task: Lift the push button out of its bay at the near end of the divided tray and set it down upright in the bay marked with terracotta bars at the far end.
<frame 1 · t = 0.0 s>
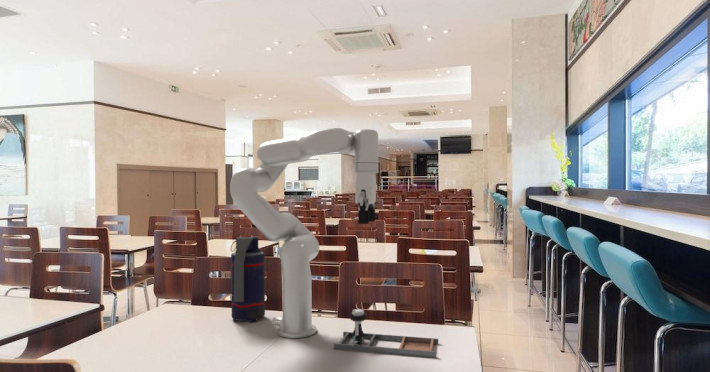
hand: (367, 222, 139), 37 cm above the table, tool pointing down, fingers open, 9 cm apart
divided tray: (386, 346, 131), on the table
grenade: (247, 320, 159), on the table
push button: (357, 344, 133), on the table
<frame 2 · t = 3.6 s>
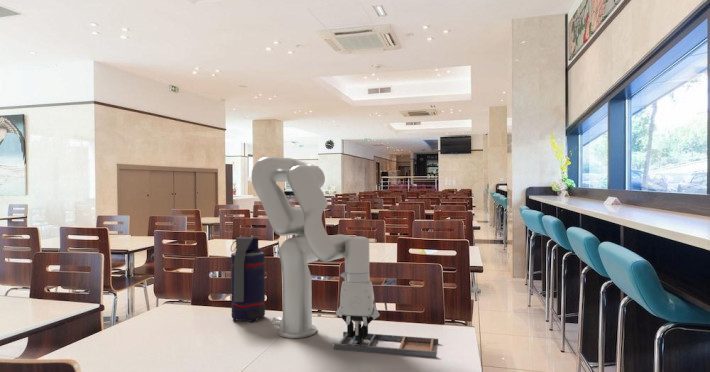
hand: (357, 336, 133), 2 cm above the table, tool pointing down, fingers closed on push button, 3 cm apart
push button: (357, 344, 133), on the table, touching gripper
everything else where it was.
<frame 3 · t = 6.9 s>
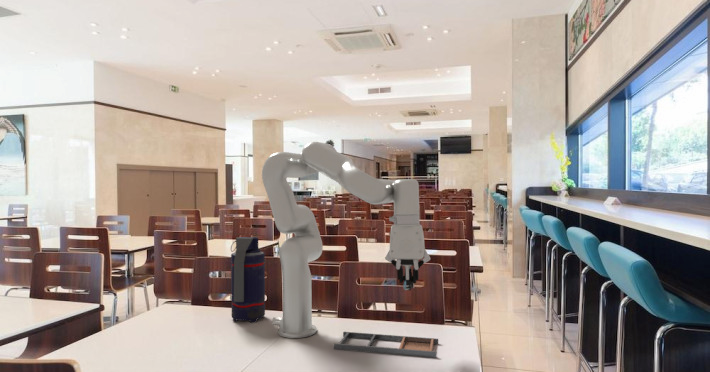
hand: (408, 281, 130), 20 cm above the table, tool pointing down, fingers closed on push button, 3 cm apart
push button: (408, 289, 130), point 17 cm above the table, touching gripper
everything else where it was.
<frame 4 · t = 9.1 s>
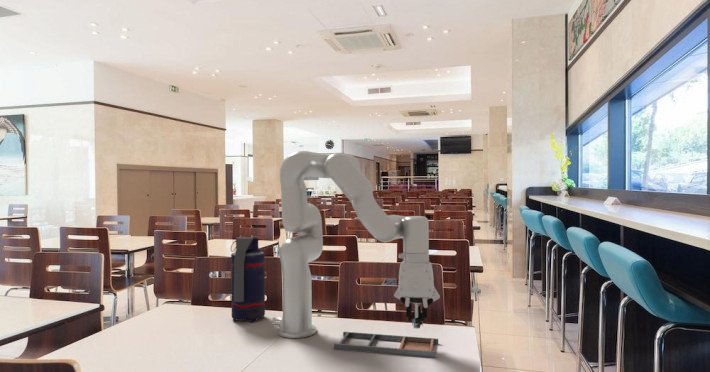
hand: (416, 319, 129), 9 cm above the table, tool pointing down, fingers closed on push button, 3 cm apart
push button: (417, 327, 129), point 6 cm above the table, touching gripper
everything else where it was.
when the fingers open (4 cm above the table, at t = 10.4 s): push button drops 1 cm, resting on divided tray.
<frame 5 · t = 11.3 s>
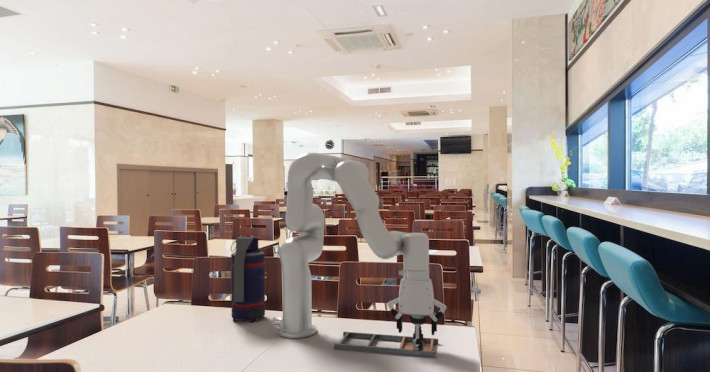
hand: (416, 332, 129), 5 cm above the table, tool pointing down, fingers open, 9 cm apart
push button: (417, 348, 129), resting on divided tray
everything else where it was.
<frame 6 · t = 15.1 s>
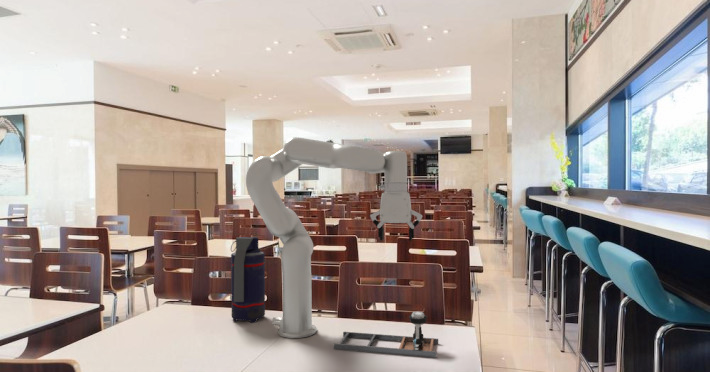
hand: (396, 240, 145), 30 cm above the table, tool pointing down, fingers open, 9 cm apart
nothing on the table moved.
at the end: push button 0.6 cm from the target spot on the divided tray, point 0.0 cm above the divided tray's base; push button tilted 0°; the gripper is holding nothing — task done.
